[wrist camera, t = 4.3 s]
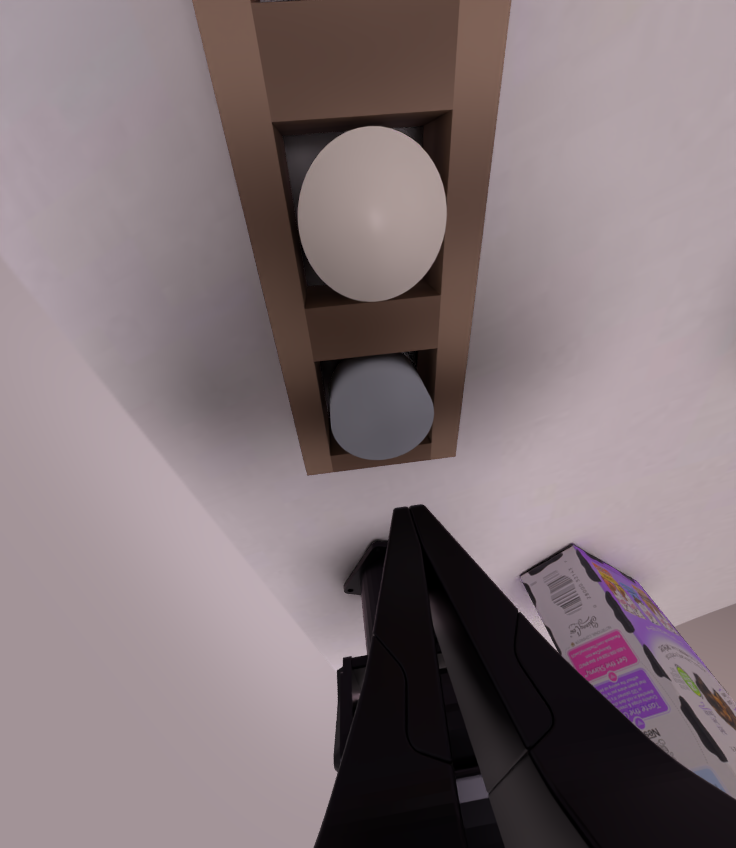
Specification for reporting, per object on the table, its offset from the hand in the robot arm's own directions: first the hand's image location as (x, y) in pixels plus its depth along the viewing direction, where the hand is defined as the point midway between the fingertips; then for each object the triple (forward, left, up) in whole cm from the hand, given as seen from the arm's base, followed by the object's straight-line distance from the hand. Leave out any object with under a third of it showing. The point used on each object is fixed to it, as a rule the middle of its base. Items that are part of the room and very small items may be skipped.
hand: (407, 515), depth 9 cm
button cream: (+6, +3, -7) cm, 10 cm away
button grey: (0, 0, -7) cm, 7 cm away
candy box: (-13, -28, -9) cm, 32 cm away
